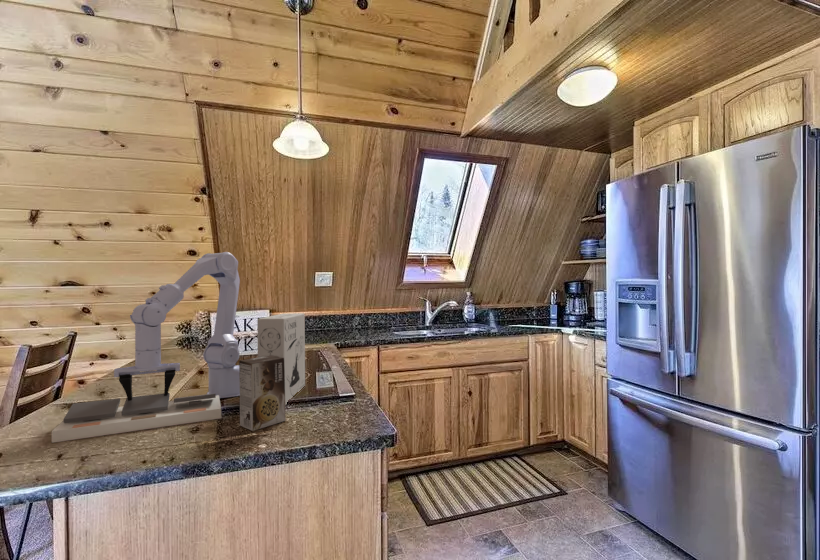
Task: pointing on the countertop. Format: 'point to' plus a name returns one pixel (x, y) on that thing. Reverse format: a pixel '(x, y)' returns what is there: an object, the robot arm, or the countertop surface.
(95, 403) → the rocker outer
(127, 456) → the countertop surface
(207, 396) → the rocker inner
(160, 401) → the rocker mid
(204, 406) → the switch panel
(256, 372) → the cookie box
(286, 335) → the cereal box
